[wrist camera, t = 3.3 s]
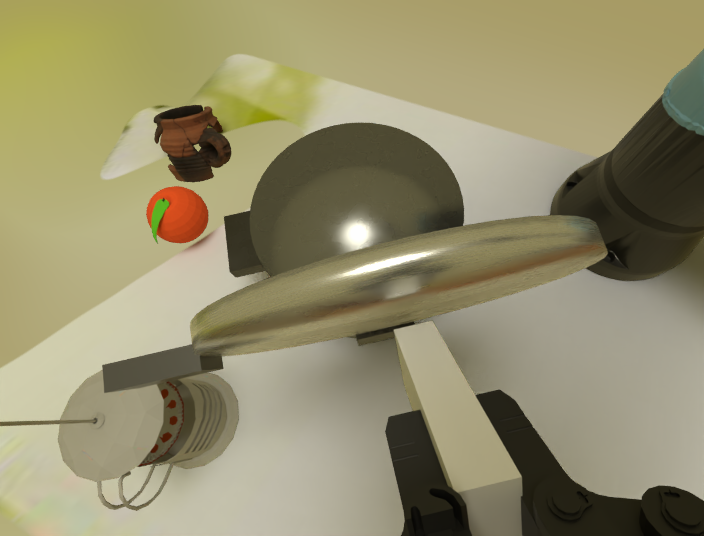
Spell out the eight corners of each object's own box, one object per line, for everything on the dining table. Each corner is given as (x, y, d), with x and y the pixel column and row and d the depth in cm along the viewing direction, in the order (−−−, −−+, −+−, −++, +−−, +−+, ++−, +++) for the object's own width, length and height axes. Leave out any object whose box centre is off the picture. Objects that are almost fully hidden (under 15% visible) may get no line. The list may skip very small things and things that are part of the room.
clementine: (201, 265, 48) (172, 241, 41) (153, 252, 49) (117, 227, 42) (225, 210, 50) (202, 180, 44) (179, 200, 51) (149, 168, 45)
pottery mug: (157, 180, 54) (130, 121, 48) (206, 155, 60) (187, 100, 55) (218, 192, 48) (195, 127, 43) (264, 163, 55) (250, 103, 50)
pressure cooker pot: (417, 172, 50) (428, 104, 39) (471, 333, 42) (504, 304, 31) (250, 210, 50) (213, 152, 39) (273, 379, 42) (234, 367, 31)
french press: (244, 372, 43) (80, 323, 19) (229, 490, 38) (-2, 610, 15) (160, 370, 43) (-95, 321, 20) (137, 486, 39) (-219, 593, 16)
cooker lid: (745, 159, 11) (775, 218, 11) (503, 285, 31) (510, 308, 31) (-107, 354, 11) (-111, 423, 10) (200, 355, 31) (203, 379, 31)
